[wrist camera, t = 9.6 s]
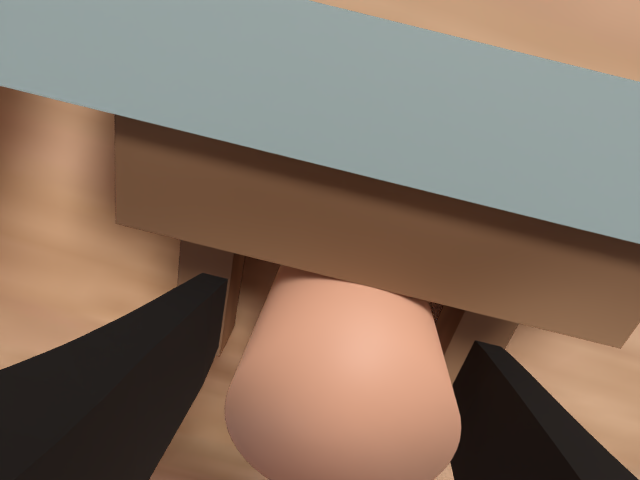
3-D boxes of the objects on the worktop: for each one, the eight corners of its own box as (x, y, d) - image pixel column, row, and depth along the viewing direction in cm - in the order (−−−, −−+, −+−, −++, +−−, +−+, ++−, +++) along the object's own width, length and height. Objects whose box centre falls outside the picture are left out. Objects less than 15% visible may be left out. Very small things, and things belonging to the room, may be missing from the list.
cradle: (456, 382, 13) (496, 520, 9) (192, 316, 13) (117, 426, 9) (559, 178, 10) (689, 254, 6) (213, 93, 10) (114, 112, 6)
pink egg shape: (358, 337, 13) (355, 529, 8) (262, 270, 12) (184, 429, 7) (444, 257, 12) (515, 428, 6) (340, 175, 11) (316, 286, 5)
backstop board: (643, 195, 10) (866, 299, 6) (131, 69, 10) (-53, 72, 6) (690, 119, 9) (997, 170, 5) (132, -19, 9) (-84, -97, 5)
